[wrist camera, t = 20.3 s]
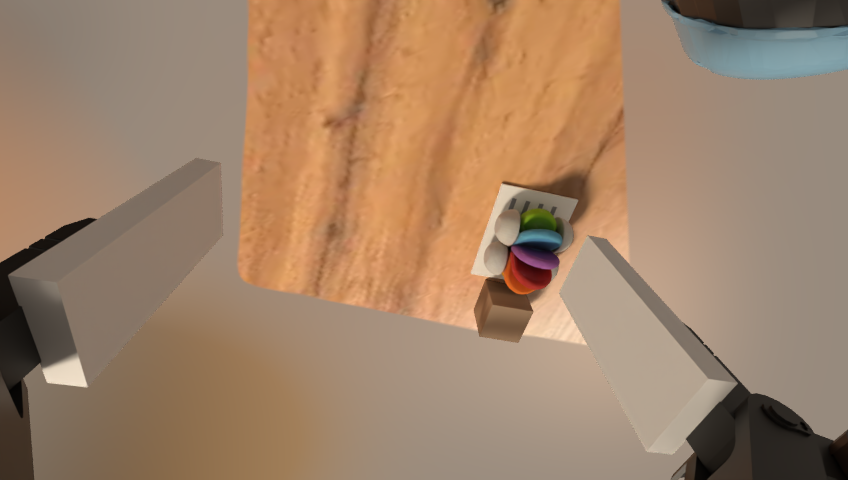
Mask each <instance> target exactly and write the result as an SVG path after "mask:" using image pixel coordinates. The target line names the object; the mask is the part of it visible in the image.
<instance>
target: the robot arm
mask: <svg viewBox="0 0 848 480" xmlns="http://www.w3.org/2000/svg"><path fill="white" fill-rule="evenodd" d="M661 2H662V5H663V7H664V9H665V11H666V12H667V13H668V14H669V15H670V16H671V17H672V19H673V22H674V25H675V27H676V30H677V33H678V36H679V38H680V41H681V44H682V47H683V49H684V51H685V53H686V54H687V55H688V57H689V58H690V59H691V60H692V61H693V62H694V63H695V64H697V65H699V66H702V67H704V68H707V69H709V70H710V71H711V72H713V73H716V74H719V75H722V76H727V77H733V78H742V79H760V80H761V79H763V80H764V79H785V78H796V77H805V76H813V75H820V74H826V73H831V72H836V71H842V70H847V69H848V0H661ZM222 236H223V219H222V187H221V163H219V162H214V161H209V160H203V159H199V158H195V159H194V160H192V161H190V162H189V163H187V164H186V165H184V166H182V167H181V168H179V169H178V170H176V171H174V172H173V173H171V174H169V175H168V176H166V177H165V178H163V179H161V180H160V181H158V182H157V183H155V184H153V185H152V186H150V187H149V188H147V189H145V190H144V191H142V192H141V193H139V194H137V195H136V196H134V197H133V198H131V199H129V200H128V201H126V202H125V203H123V204H121V205H120V206H118V207H117V208H115V209H113V210H112V211H110V212H108V213H107V214H105V215H104V216H102V217H101V218H99V219H93V218H87V219H84V220H81V221H78V222H74V223H71V224H68V225H65V226H63V227H61V228H59V229H58V230H56V231H54V232H52V233H51V234H49V235H47V236H46V237H45V239H40V240H39V241H37V242H35V243H33V244H32V245H30V246H29V248H28V249H23V250H21V251H20V252H18V253H16V254H14V255H13V256H11V257H9V258H8V259H6V260H4V261H2V262H1V263H0V480H34V470H33V457H32V444H31V430H30V417H29V403H28V390H27V387H26V384H25V382H24V380H23V378H24V377H25V376H26V375H27V374H28V373H29V372H30V371H31V370H33V369H34V368H35V367H36V366H37V365H38V364H39V363H40V364H41V367H42V370H43V373H44V375H45V378H46V381H47V383H55V384H63V385H72V386H81V387H88V386H89V385H90V384H91V383H92V382H93V381H94V379H95V378H96V377H97V376H98V375H99V374H100V373H101V372H102V371H103V369H104V368H105V367H106V366H107V365H108V364H109V362H111V360H112V359H113V358H114V357H115V356H116V355H117V354H118V353H119V351H120V350H121V349H122V348H123V347H124V346H125V345H126V344H127V343H128V341H129V340H130V339H131V338H132V337H133V336H134V335H135V334H136V332H137V331H138V330H139V329H140V328H141V327H142V326H143V325H144V323H145V322H146V321H147V320H148V319H149V318H150V317H151V316H152V314H153V313H154V312H155V311H156V310H157V309H158V308H159V306H160V305H161V304H162V303H163V302H164V301H165V300H166V299H167V298H168V296H169V295H170V294H171V293H172V292H173V291H174V290H175V288H176V287H177V286H178V285H179V284H180V283H181V282H182V281H183V279H184V278H185V277H186V276H187V275H188V274H189V273H190V271H192V269H193V268H194V267H195V266H196V265H197V264H198V263H199V261H200V260H201V259H202V258H203V257H204V256H205V255H206V253H207V252H208V251H209V250H210V249H211V248H212V247H213V246H214V245H215V244H216V242H217V241H218V240H219V239H220V238H221V237H222ZM559 294H560V296H561V298H562V300H563V302H564V303H565V305H566V307H567V309H568V311H569V313H570V314H571V316H572V318H573V320H574V322H575V323H576V325H577V327H578V329H579V331H580V332H581V334H582V336H583V338H584V340H585V341H586V343H587V345H588V347H589V349H590V350H591V352H592V354H593V356H594V358H595V359H596V361H597V363H598V365H599V367H600V368H601V370H602V372H603V374H604V376H605V378H606V379H607V381H608V383H609V385H610V386H611V388H612V390H613V392H614V394H615V396H616V397H617V399H618V401H619V403H620V405H621V406H622V408H623V410H624V412H625V414H626V415H627V417H628V419H629V421H630V423H631V424H632V426H633V428H634V430H635V431H636V434H637V435H638V437H639V439H640V441H641V442H642V444H643V446H644V448H645V450H646V451H647V452H655V453H664V454H674V453H675V452H676V450H677V449H678V448H679V447H680V446H681V445H682V444H683V443H684V442H685V441H686V440H687V441H688V443H689V444H690V445H691V447H692V449H693V450H694V453H693V454H692V455H691V457H690V458H689V459H688V460H687V461H686V462H685V463H684V464H683V465H682V466H681V467H680V468H679V469H678V470H677V471H676V472H675V473H674V474H673V476H672V478H671V480H678V479H679V478H682V477H685V480H848V430H847V431H845V432H844V433H843V434H842V435H841V436H839V437H838V438H837V439H836V440H835V441H833V440H830V439H828V438H825V437H822V436H820V435H817V434H815V433H814V432H813V431H812V429H811V428H810V427H809V425H808V424H807V423H806V422H805V421H804V420H803V419H802V418H801V417H800V416H798V415H797V414H796V413H795V412H794V411H792V410H791V409H790V408H788V407H786V406H785V405H783V404H782V403H780V402H779V401H777V400H774V399H772V398H770V397H768V396H765V395H761V394H757V393H756V394H751V393H750V392H749V391H748V390H747V389H746V388H745V387H744V385H742V383H741V382H740V381H739V380H738V379H737V378H736V377H735V376H734V375H733V374H732V373H731V371H730V370H729V369H728V368H727V367H726V366H725V365H724V364H723V363H722V362H721V361H720V359H719V358H718V357H717V356H714V355H713V354H714V353H713V352H712V351H711V350H710V349H709V348H708V346H707V345H704V344H703V343H704V342H703V341H702V340H701V339H700V338H699V337H698V336H697V335H696V334H695V332H694V331H693V330H692V329H691V328H689V327H688V326H687V325H685V324H684V323H683V322H681V320H680V319H679V318H678V317H677V316H676V315H675V314H674V313H673V312H672V311H671V310H670V308H669V307H668V306H667V305H666V304H665V303H664V302H663V301H662V300H661V299H660V297H659V296H658V295H657V294H656V293H655V292H654V291H653V290H652V289H651V288H650V286H648V284H647V283H646V282H645V281H644V280H643V279H642V278H641V277H640V276H639V275H638V273H637V272H636V271H635V270H634V269H633V268H632V267H631V266H630V265H629V263H628V262H627V261H626V260H625V259H624V258H623V257H622V256H621V255H620V254H619V253H618V251H617V250H616V249H615V248H614V247H613V246H612V245H611V244H610V243H609V242H608V241H607V239H604V238H599V237H594V236H589V235H587V237H586V239H585V241H584V243H583V245H582V247H581V249H580V251H579V253H578V255H577V257H576V259H575V261H574V263H573V265H572V267H571V269H570V271H569V273H568V275H567V277H566V279H565V281H564V283H563V285H562V287H561V289H560V291H559Z"/></svg>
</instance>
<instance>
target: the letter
mask: <svg viewBox="0 0 848 480" xmlns="http://www.w3.org/2000/svg"><path fill="white" fill-rule="evenodd" d="M577 202H578V199H575V198H570V197H565V196H560V195H556V194H551V193H546V192H541V191H537V190H532V189H527V188H522V187H518V186H513V185H508V184H503V183H501V186H500V189H499V192H498V195H497V198H496V201H495V204H494V207H493V209H492V212H491V215H490V218H489V221H488V224H487V227H486V230H485V232H484V235H483V238H482V241H481V244H480V247H479V250H478V253H477V255H476V258H475V261H474V264H473V267H472V270H471V274H475V275H481V276H486V277H492V278H498V279H504V276H503V275H502V273H501V274H500V275H494V274H492V273H491V272H489V271H488V270H487V268H486V267H485V264H484V253H485V250H486V248H487V247H488V246H489V245H490V244H491V243H493V242H496V241H499V240H498V238H497V237H496V234H495V230H494V227H495V222H496V219H497V218H498V216H499V215H500V214H501V213H503V212H504V211H506V210H510V209H516V210H518V212H519V214H520V215H522V214H523V213H525V212H526V211H528V210H531V209H536V208H540V209H545V210H547V211H549V212H550V213H551V214H552V215H553V216H554V218H556V217H561V218H563V219H565V220H566V221H568V222H569V220H570V218H571V215H572V213H573V211H574V209H575V207H576V205H577ZM510 246H512V245H510ZM508 247H509V246H508Z"/></svg>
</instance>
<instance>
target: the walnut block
mask: <svg viewBox="0 0 848 480" xmlns="http://www.w3.org/2000/svg"><path fill="white" fill-rule="evenodd" d="M474 314H475V318H476V323H477V327H478V332H479V336H480V337H487V338H492V339H498V340H504V341H511V342H517V343H518V342H519V340H520V338H521V336H522V334H523V332H524V330H525V328H526V326H527V324H528V322H529V320H530V318H531V316H532V314H533V310H532V307H531V305H530V303H529V300H528V298H527V295H526V294H517V293H515V292H513V291H512V290H511V289H510V288H509V287H508V286H507V284H506V283H501V282H496V281H491V280H485V282H484V285H483V287H482V290H481V292H480V295H479V297H478V300H477V303H476V305H475V308H474Z"/></svg>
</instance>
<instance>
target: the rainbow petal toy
mask: <svg viewBox="0 0 848 480" xmlns="http://www.w3.org/2000/svg"><path fill="white" fill-rule="evenodd" d="M494 230H495V234H496V237H497V238H498V240H499V241H496V242H493V243H491V244H490V245H489V246H488V247H487V248H486V250H485V253H484V264H485V267H486V268H487V270H488V271H489V272H491V273H492V274H494V275H500V274H501V273H502V275H503V276H504V280H505V282H506V284H507V286H508V287H509V288H510V289H511V290H512V291H513V292H515V293H517V294H529V293H531V292H533V291H535V290H538V289H542V288H544V287H546V286H547V285H548V284H549V283H550V281H551V280H552V279H554V277H555V276H556V275H557V272H558V265H559V259H558V257H557V256H556V255H555V254H554V253H559V252H562V251H564V250H566V249H567V248H568V247H569V246H570V245H571V243H572V241H573V236H574V234H573V229H572V227H571V225H570V223H569V222H568V221H566V220H565V219H563V218H561V217H556V218H554V216H553V215H552V214H551V213H550V212H549V211H547V210H545V209H540V208H536V209H531V210H528V211H526V212H525V213H523V214H522V215H520V214H519V212H518V210H516V209H510V210H506V211H504V212H503V213H501V214H500V215H499V216H498V218H497V219H496V222H495V227H494ZM510 245H512V246H510ZM508 246H509V247H508Z"/></svg>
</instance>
